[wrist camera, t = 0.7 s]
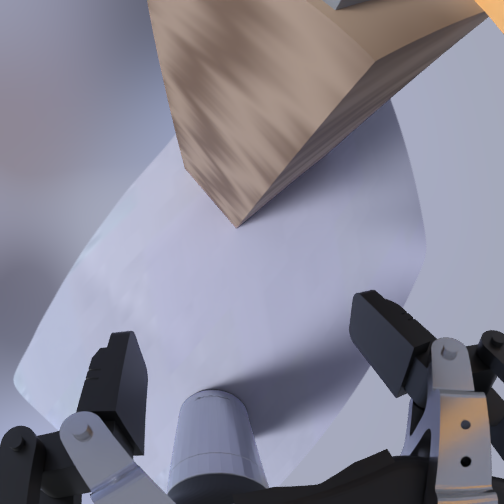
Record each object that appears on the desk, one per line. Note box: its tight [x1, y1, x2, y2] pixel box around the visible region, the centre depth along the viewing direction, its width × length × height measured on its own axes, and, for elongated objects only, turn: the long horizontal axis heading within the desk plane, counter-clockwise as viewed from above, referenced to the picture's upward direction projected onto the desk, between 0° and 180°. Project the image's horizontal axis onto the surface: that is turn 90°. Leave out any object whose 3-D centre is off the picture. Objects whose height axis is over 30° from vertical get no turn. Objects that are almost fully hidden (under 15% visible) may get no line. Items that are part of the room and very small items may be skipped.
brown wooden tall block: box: [147, 0, 489, 228], centre depth 21 cm, size 10×16×33 cm, turn 131°
